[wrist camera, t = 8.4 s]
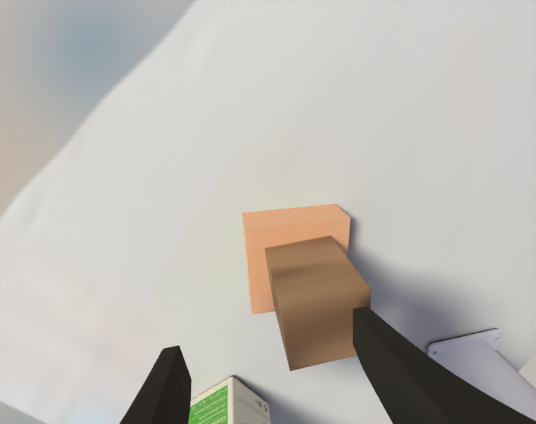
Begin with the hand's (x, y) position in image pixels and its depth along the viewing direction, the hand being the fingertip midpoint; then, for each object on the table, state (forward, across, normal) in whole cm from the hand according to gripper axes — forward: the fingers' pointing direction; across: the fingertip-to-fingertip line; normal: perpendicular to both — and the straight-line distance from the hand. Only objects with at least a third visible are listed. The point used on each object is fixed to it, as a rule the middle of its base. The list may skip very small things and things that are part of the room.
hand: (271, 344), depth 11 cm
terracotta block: (+10, -3, +2) cm, 11 cm away
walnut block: (+7, -3, +2) cm, 8 cm away
